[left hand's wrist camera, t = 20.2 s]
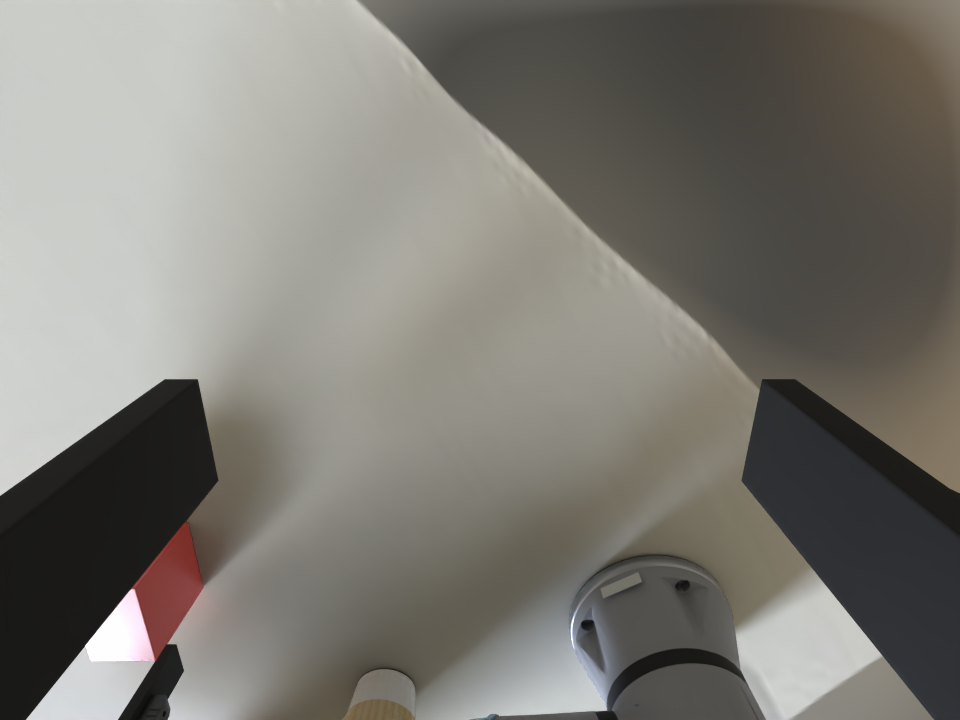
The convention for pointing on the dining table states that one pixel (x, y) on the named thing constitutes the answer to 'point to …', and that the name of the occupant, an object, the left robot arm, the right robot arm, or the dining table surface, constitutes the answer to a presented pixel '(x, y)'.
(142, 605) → the block
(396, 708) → the coffee cup
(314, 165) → the dining table surface
